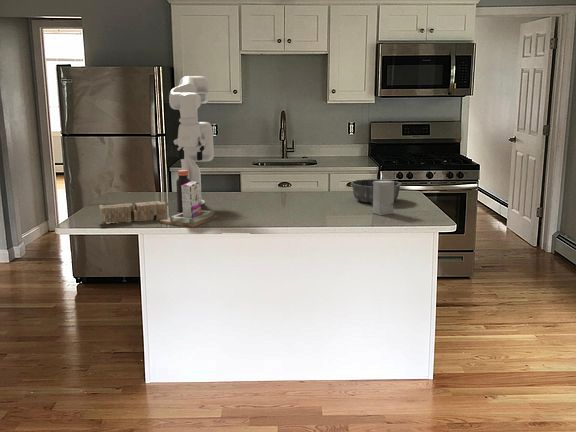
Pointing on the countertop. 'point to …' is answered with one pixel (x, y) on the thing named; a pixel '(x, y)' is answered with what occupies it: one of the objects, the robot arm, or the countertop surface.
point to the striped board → (190, 219)
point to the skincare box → (383, 197)
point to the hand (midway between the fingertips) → (190, 159)
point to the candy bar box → (191, 199)
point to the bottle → (179, 182)
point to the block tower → (133, 212)
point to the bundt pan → (369, 189)
